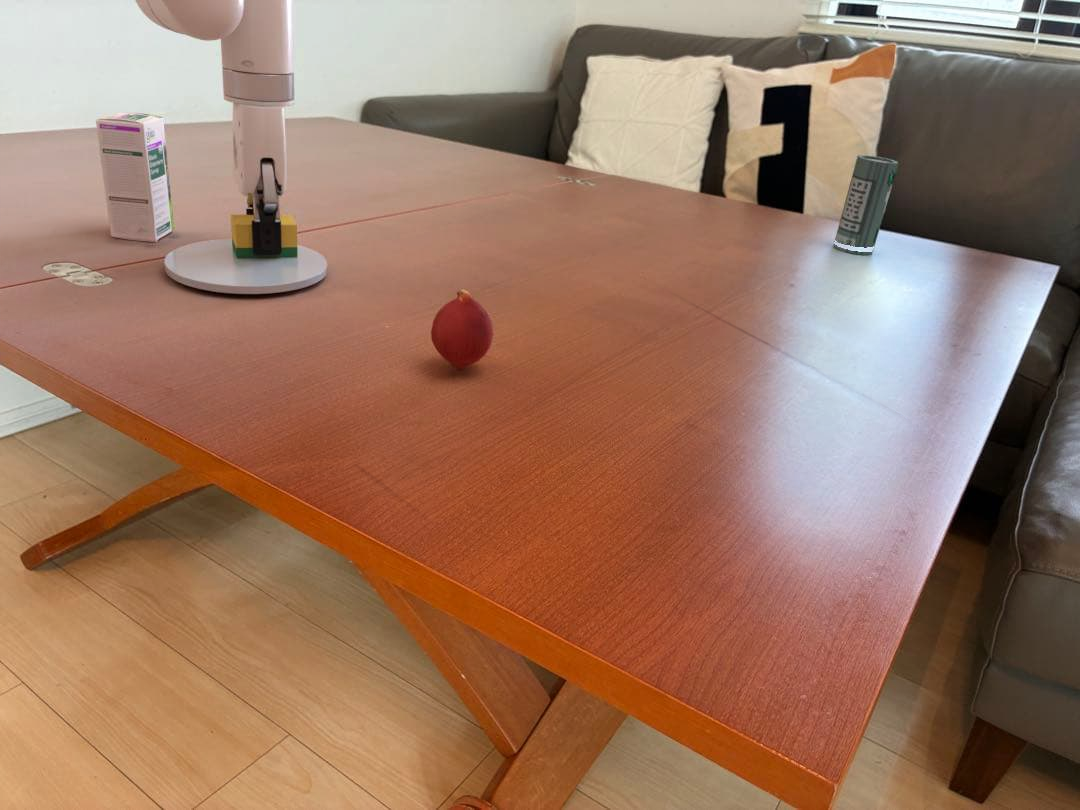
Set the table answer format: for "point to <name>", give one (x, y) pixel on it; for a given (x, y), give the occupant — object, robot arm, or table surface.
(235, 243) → the sponge
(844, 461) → the table surface
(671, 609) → the table surface
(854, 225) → the can
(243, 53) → the robot arm
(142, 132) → the syrup box
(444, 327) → the onion
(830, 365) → the table surface
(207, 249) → the plate
